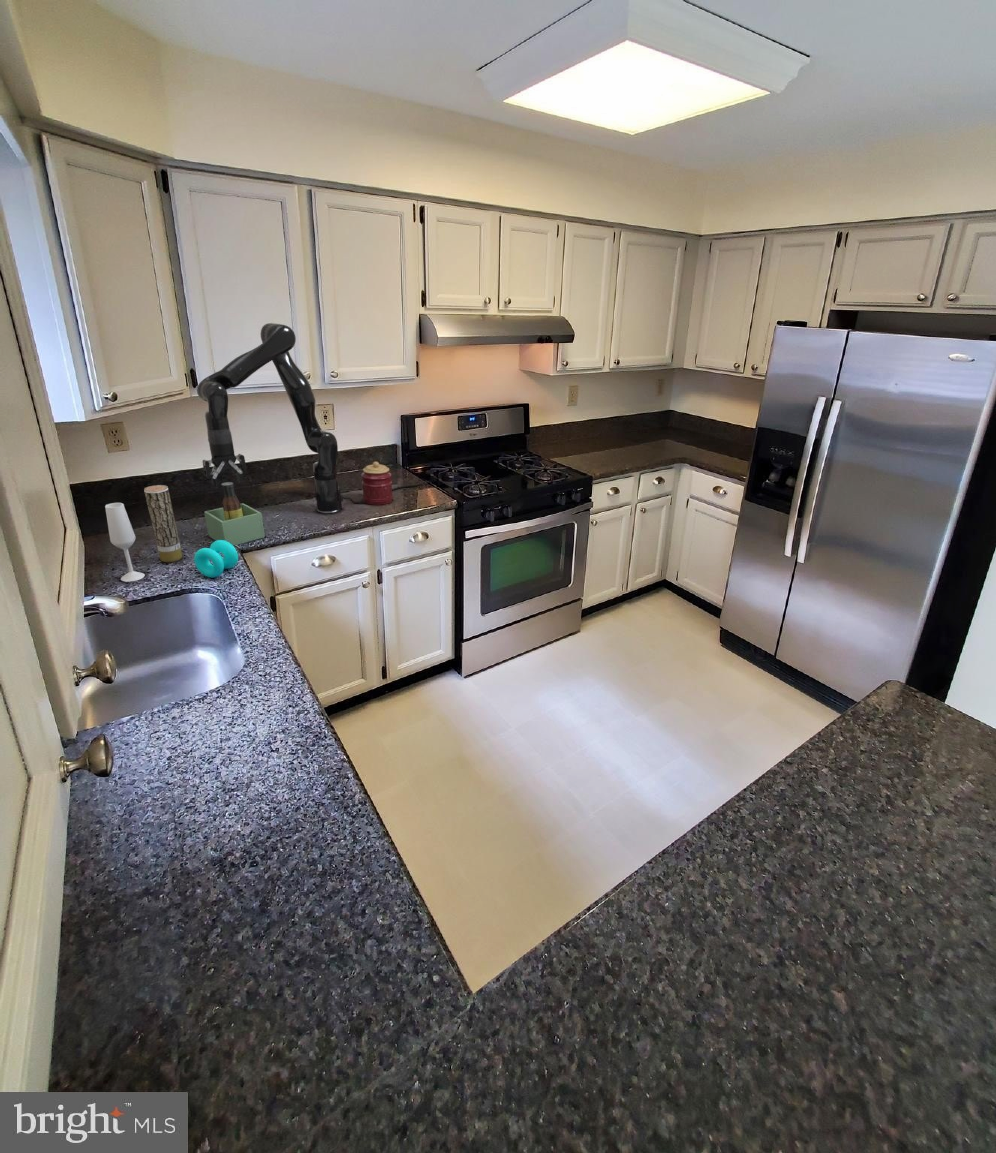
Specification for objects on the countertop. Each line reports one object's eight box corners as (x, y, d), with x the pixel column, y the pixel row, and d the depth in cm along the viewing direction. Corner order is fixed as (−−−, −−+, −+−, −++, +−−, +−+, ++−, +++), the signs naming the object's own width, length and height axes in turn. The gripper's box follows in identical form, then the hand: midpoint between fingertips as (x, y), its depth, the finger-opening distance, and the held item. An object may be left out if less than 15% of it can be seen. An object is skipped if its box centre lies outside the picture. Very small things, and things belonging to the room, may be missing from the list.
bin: (246, 526, 231) (243, 503, 227) (264, 537, 223) (261, 513, 218) (208, 535, 222) (204, 511, 218) (226, 547, 213) (221, 522, 209)
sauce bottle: (249, 532, 225) (241, 481, 216) (241, 538, 219) (232, 486, 210) (233, 531, 225) (224, 480, 216) (224, 537, 219) (215, 485, 211)
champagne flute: (119, 575, 190) (100, 504, 180) (143, 570, 194) (125, 500, 183) (122, 583, 185) (102, 510, 175) (146, 578, 189) (128, 506, 179)
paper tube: (160, 564, 198) (143, 492, 187) (160, 556, 204) (144, 486, 193) (183, 561, 201) (168, 490, 190) (182, 553, 207) (167, 484, 196)
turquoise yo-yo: (195, 576, 192) (189, 548, 187) (216, 564, 200) (211, 536, 196) (222, 581, 189) (216, 552, 185) (242, 568, 198) (237, 540, 194)
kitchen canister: (356, 501, 263) (353, 461, 255) (377, 494, 273) (375, 456, 265) (377, 507, 256) (375, 467, 249) (398, 500, 266) (397, 461, 258)
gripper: (204, 446, 199) (213, 492, 207) (245, 439, 209) (252, 484, 216) (195, 441, 204) (203, 487, 211) (235, 436, 213) (242, 479, 221)
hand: (228, 485), depth 214 cm, fingers open, 8 cm apart
